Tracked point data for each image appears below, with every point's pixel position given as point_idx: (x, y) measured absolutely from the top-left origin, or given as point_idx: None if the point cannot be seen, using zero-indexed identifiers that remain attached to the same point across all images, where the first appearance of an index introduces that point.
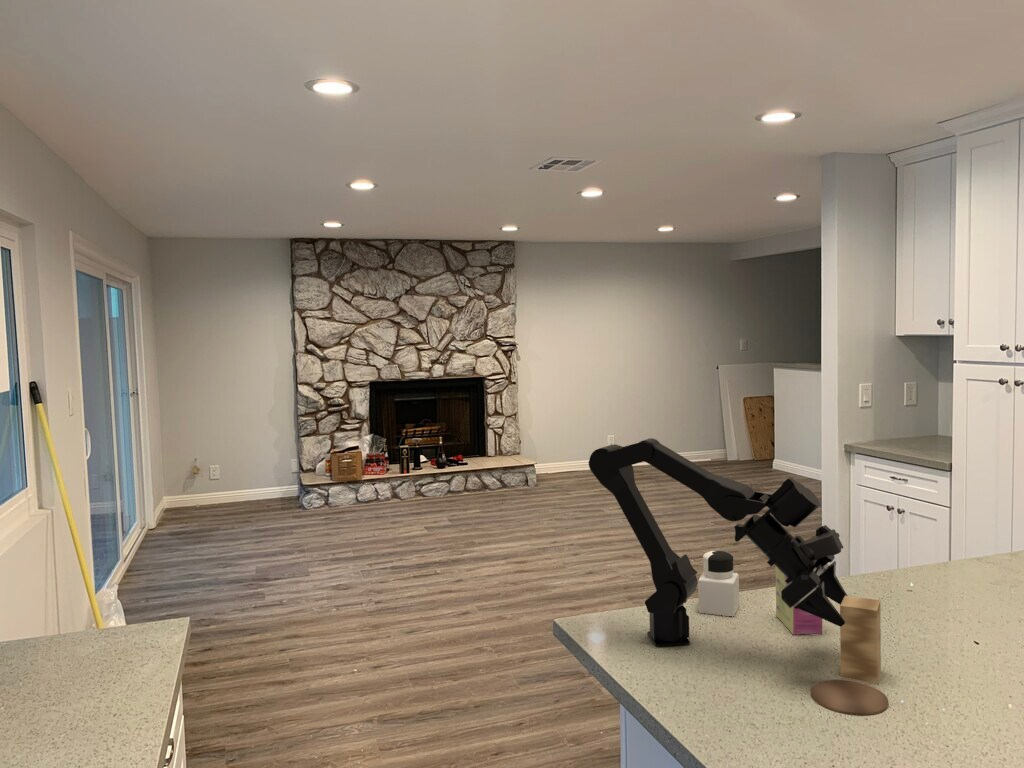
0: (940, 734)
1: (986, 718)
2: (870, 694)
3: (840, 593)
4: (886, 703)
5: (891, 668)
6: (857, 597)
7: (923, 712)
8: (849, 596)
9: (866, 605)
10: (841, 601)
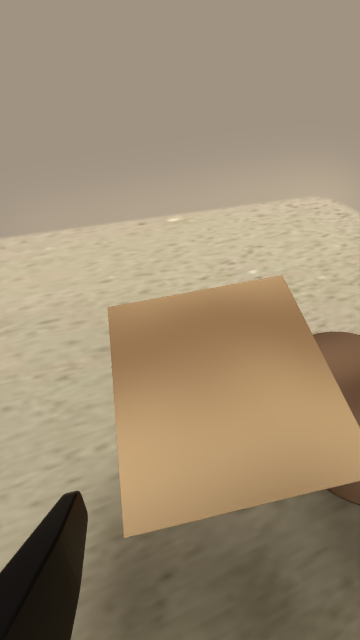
0: (341, 256)
1: (238, 229)
2: None
3: (35, 621)
4: (325, 334)
5: None
6: (118, 430)
7: (289, 288)
8: (125, 492)
9: (243, 334)
10: (70, 580)
